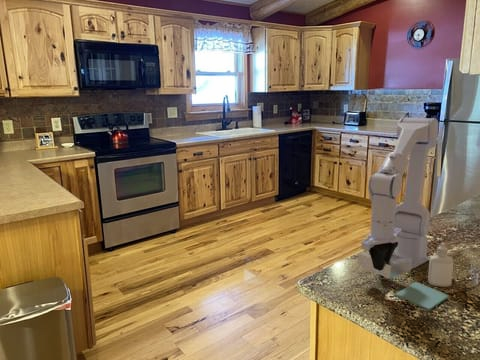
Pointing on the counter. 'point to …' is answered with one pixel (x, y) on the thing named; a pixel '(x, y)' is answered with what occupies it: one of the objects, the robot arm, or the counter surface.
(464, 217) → the counter surface
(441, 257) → the eye dropper bottle
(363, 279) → the counter surface
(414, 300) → the mat
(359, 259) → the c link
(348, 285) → the counter surface
